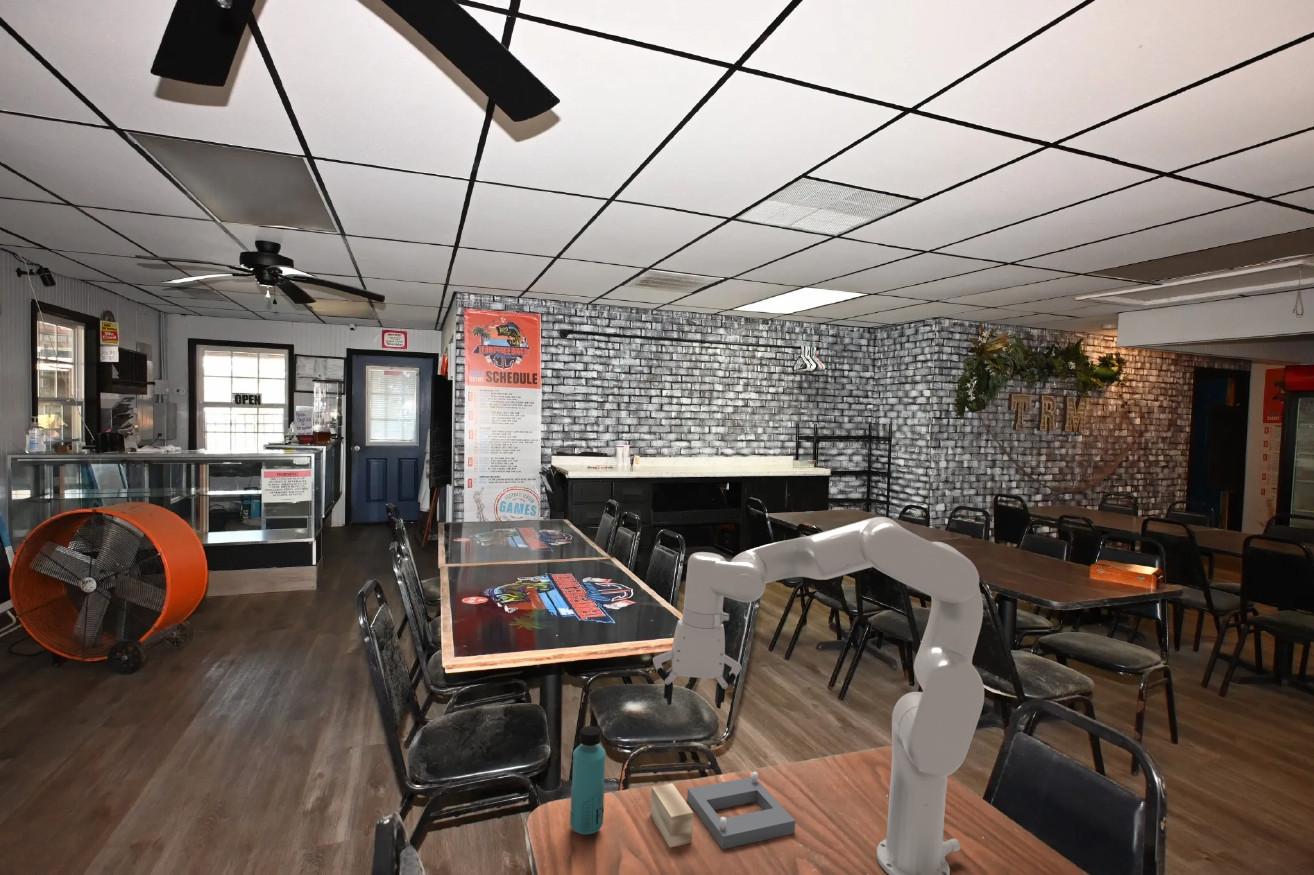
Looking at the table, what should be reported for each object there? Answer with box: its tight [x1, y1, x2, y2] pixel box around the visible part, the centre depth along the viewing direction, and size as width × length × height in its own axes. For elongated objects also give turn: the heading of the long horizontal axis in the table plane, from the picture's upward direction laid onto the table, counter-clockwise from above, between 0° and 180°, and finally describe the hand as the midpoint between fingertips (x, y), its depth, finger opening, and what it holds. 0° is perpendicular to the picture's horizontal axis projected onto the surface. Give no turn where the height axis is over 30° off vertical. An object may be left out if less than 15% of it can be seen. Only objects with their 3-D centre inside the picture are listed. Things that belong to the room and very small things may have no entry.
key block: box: [650, 783, 694, 848], centre depth 126 cm, size 4×10×6 cm, turn 22°
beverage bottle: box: [569, 725, 607, 835], centre depth 124 cm, size 6×7×20 cm
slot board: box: [686, 771, 796, 850], centre depth 131 cm, size 16×16×4 cm
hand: (693, 703), depth 125 cm, fingers open, 9 cm apart
